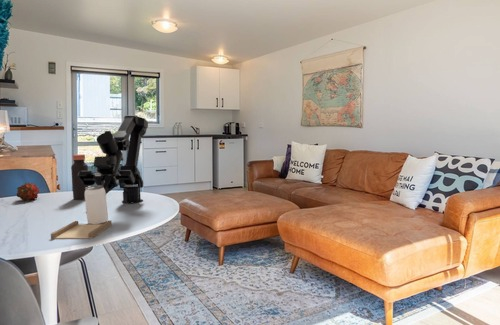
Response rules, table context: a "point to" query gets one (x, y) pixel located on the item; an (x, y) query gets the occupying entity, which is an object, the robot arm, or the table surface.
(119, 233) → the table surface
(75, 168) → the bottle
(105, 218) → the can
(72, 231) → the wooden tray
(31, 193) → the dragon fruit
